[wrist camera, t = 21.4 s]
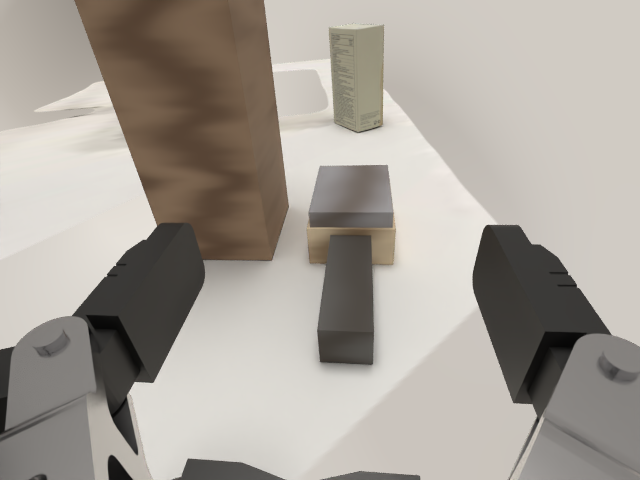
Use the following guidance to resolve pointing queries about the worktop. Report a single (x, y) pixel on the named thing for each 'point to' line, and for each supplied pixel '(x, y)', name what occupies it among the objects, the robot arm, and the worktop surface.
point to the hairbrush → (350, 255)
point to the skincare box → (357, 75)
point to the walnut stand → (197, 115)
